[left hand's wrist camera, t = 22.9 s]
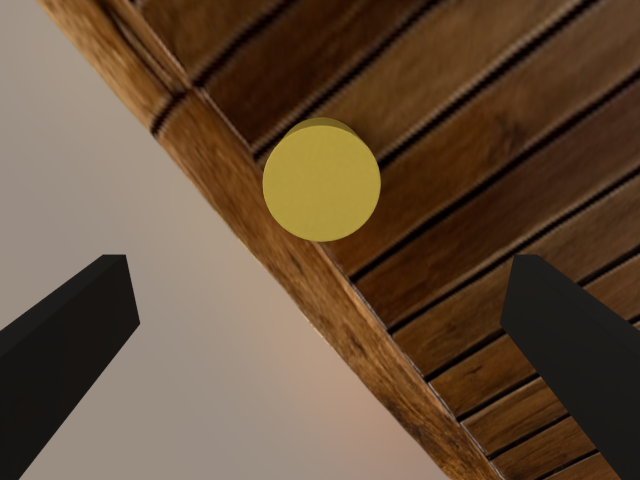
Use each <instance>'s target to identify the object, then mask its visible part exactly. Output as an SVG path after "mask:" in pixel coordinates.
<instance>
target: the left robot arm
mask: <svg viewBox="0 0 640 480" xmlns="http://www.w3.org/2000/svg"><path fill="white" fill-rule="evenodd" d="M139 325H140V320H139V315H138V311H137V306H136V301H135V297H134V292H133V287H132V282H131V278H130V273H129V268H128V263H127V259H126V255H102V256H100V257H99V258H98V259H96V260H95V261H94V262H92V263H91V264H90V265H88V266H87V267H86V268H84V269H83V270H82V271H80V272H79V273H78V274H76V275H75V276H74V277H72V278H71V279H69V280H68V281H67V282H65V283H64V284H63V285H61V286H60V287H59V288H57V289H56V290H55V291H53V292H52V293H51V294H49V295H48V296H47V297H45V298H44V299H43V300H41V301H40V302H39V303H37V304H36V305H34V306H33V307H32V308H30V309H29V310H28V311H26V312H25V313H24V314H22V315H21V316H20V317H18V318H17V319H16V320H14V321H13V322H12V323H10V324H9V325H8V326H6V327H5V328H4V329H2V330H1V331H0V480H19V479H20V477H21V476H22V475H23V473H24V472H25V471H26V470H27V468H28V467H29V466H30V464H31V463H32V462H33V461H34V459H35V458H36V457H37V455H38V454H39V453H40V452H41V450H42V449H43V448H44V446H45V445H46V444H47V443H48V441H49V440H50V439H51V437H52V436H53V435H54V434H55V432H56V431H57V430H58V428H59V427H60V426H61V425H62V423H63V422H64V421H65V420H66V418H67V417H68V416H69V414H70V413H71V412H72V411H73V409H74V408H75V407H76V405H77V404H78V403H79V402H80V400H81V399H82V398H83V396H84V395H85V394H86V393H87V391H88V390H89V389H90V387H91V386H92V385H93V384H94V382H95V381H96V380H97V378H98V377H99V376H100V375H101V373H102V372H103V371H104V369H105V368H106V367H107V366H108V364H109V363H110V362H111V361H112V359H113V358H114V357H115V355H116V354H117V353H118V352H119V350H120V349H121V348H122V346H123V345H124V344H125V343H126V341H127V340H128V339H129V337H130V336H131V335H132V334H133V332H134V331H135V330H136V329H137V327H138V326H139ZM500 325H501V326H502V327H503V329H504V330H505V331H506V332H507V334H508V335H509V336H510V337H511V339H512V340H513V341H514V343H515V344H516V345H517V346H518V348H519V349H520V350H521V352H522V353H523V354H524V355H525V357H526V358H527V359H528V361H529V362H530V363H531V364H532V366H533V367H534V368H535V370H536V371H537V372H538V373H539V375H540V376H541V377H542V379H543V380H544V381H545V382H546V384H547V385H548V386H549V387H550V389H551V390H552V391H553V393H554V394H555V395H556V396H557V398H558V399H559V400H560V402H561V403H562V404H563V405H564V407H565V408H566V409H567V411H568V412H569V413H570V414H571V416H572V417H573V418H574V420H575V421H576V422H577V423H578V425H579V426H580V427H581V429H582V430H583V431H584V432H585V434H586V435H587V436H588V438H589V439H590V440H591V441H592V443H593V444H594V445H595V446H596V448H597V449H598V450H599V452H600V453H601V454H602V455H603V457H604V458H605V459H606V461H607V462H608V463H609V464H610V466H611V467H612V468H613V470H614V471H615V472H616V473H617V475H618V476H619V477H620V479H621V480H640V331H639V330H638V329H636V328H635V327H634V326H632V325H631V324H630V323H628V322H627V321H626V320H624V319H623V318H622V317H620V316H619V315H618V314H616V313H615V312H614V311H612V310H611V309H610V308H608V307H607V306H606V305H604V304H603V303H601V302H600V301H599V300H597V299H596V298H595V297H593V296H592V295H591V294H589V293H588V292H587V291H585V290H584V289H583V288H581V287H580V286H579V285H577V284H576V283H575V282H573V281H572V280H571V279H569V278H568V277H567V276H565V275H564V274H562V273H561V272H560V271H558V270H557V269H556V268H554V267H553V266H552V265H550V264H549V263H548V262H546V261H545V260H544V259H542V258H541V257H540V256H538V255H514V259H513V263H512V268H511V273H510V278H509V282H508V287H507V292H506V297H505V301H504V306H503V311H502V315H501V320H500Z"/></svg>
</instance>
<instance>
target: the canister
mask: <svg viewBox="0 0 640 480" xmlns="http://www.w3.org/2000/svg"><path fill="white" fill-rule="evenodd" d="M380 186H381V180H380V172H379V168H378V165H377V162H376V160H375V158H374V156H373V154H372V152H371V151H370V149H369V148H368V147H367V146H366V144H365V143H364V142H363V141H362V140H361V139H360V138H359V137H358V136H357V134H356V133H355V132H354V131H353V130H352V129H351V128H349V127H348V126H347V125H345V124H344V123H342V122H340V121H337V120H335V119H331V118H324V117H318V118H311V119H308V120H305V121H303V122H301V123H299V124H297V125H296V126H294V127H293V128H292V129H291V130H290V131H289V132H288V133H287V134H286V135H285V136H284V138H283V139H282V140H281V141H280V143H279V144H278V145H277V146H276V147H275V149H274V150H273V152H272V153H271V155H270V157H269V159H268V161H267V163H266V166H265V170H264V174H263V193H264V198H265V201H266V204H267V206H268V208H269V210H270V212H271V214H272V215H273V217H274V218H275V220H276V221H277V222H278V223H279V224H280V225H281V226H282V227H283V228H284V229H286V230H287V231H289V232H290V233H292V234H294V235H296V236H298V237H300V238H303V239H307V240H311V241H332V240H337V239H340V238H343V237H345V236H348V235H349V234H351V233H353V232H355V231H356V230H357V229H359V228H360V227H361V226H362V225H363V224H364V223H365V222H366V221H367V220H368V219H369V217H370V216H371V214H372V213H373V211H374V209H375V207H376V205H377V202H378V199H379V194H380Z"/></svg>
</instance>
